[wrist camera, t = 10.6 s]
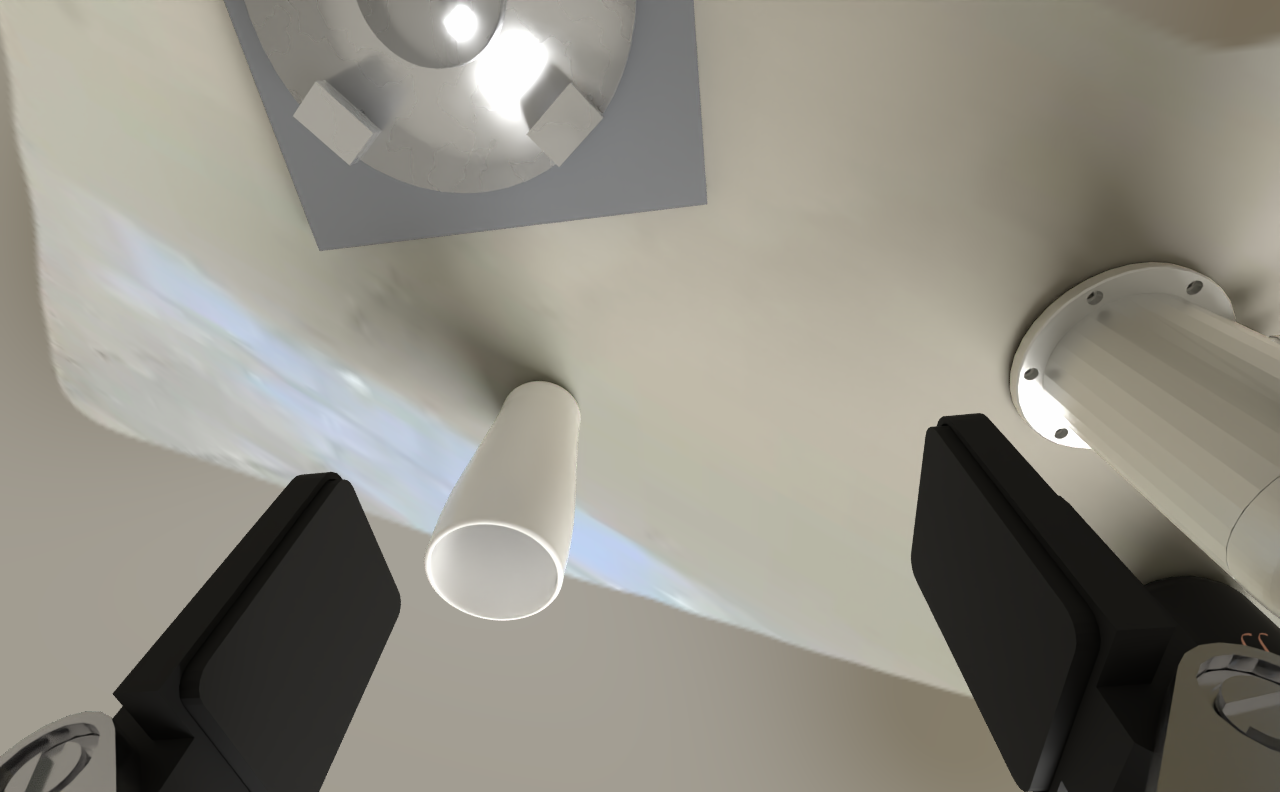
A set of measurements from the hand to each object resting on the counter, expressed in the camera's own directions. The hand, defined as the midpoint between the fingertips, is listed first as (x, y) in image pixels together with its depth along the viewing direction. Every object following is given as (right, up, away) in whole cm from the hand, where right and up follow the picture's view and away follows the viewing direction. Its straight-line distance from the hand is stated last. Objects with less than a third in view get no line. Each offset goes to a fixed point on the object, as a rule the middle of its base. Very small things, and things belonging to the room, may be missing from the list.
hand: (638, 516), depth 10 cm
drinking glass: (-7, +1, +32) cm, 33 cm away
